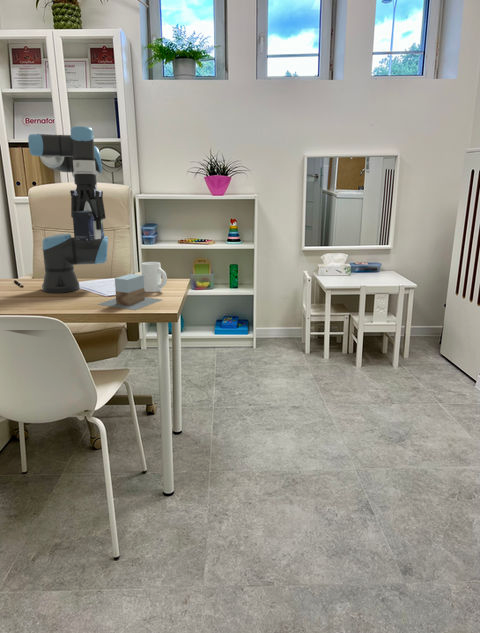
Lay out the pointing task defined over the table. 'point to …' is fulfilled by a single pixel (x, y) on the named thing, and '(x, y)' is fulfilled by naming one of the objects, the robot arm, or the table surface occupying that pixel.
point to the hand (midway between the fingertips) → (89, 238)
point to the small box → (84, 226)
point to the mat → (132, 307)
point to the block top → (129, 283)
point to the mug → (153, 276)
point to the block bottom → (130, 297)
